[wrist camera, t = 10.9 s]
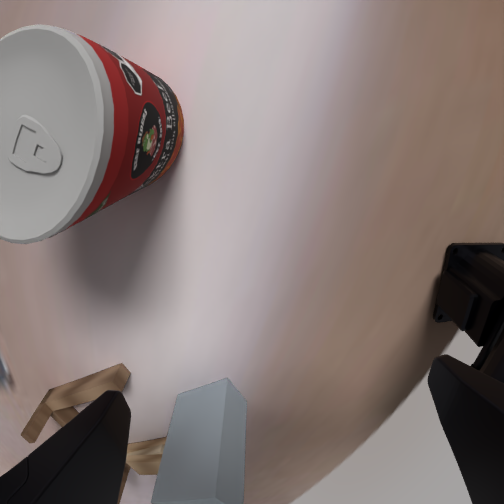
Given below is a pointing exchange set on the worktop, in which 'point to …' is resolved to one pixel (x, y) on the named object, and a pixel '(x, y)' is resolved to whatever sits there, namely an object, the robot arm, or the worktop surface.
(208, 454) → the grey rectangular block
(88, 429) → the robot arm
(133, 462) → the offcut stack
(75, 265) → the worktop surface
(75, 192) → the canned food
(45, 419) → the rack
